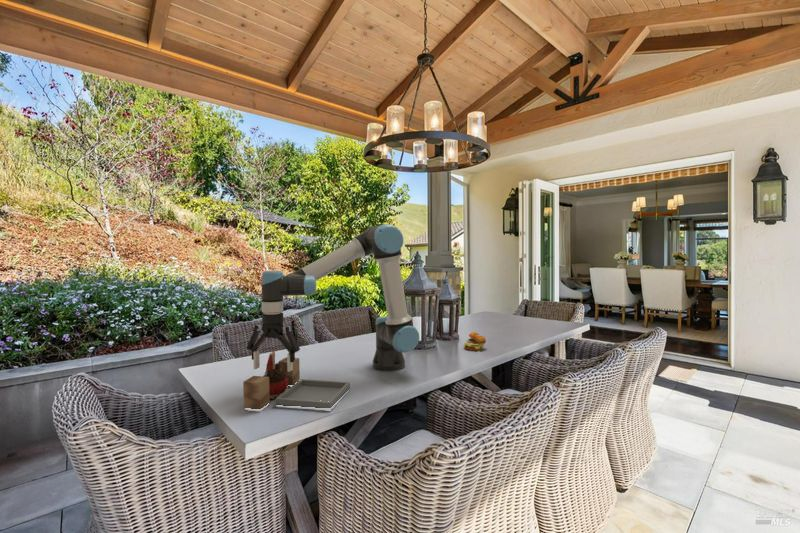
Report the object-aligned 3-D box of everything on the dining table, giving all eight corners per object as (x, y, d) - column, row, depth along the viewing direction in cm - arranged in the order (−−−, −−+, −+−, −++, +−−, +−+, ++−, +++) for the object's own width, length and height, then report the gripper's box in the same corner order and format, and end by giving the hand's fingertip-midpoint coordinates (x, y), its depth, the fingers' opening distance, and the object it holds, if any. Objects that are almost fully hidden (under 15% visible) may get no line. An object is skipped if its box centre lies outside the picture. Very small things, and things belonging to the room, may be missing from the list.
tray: (349, 389, 147) (349, 382, 147) (330, 411, 127) (330, 403, 127) (301, 386, 151) (301, 379, 151) (275, 407, 131) (275, 398, 131)
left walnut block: (269, 405, 133) (269, 376, 133) (260, 412, 127) (259, 382, 127) (254, 403, 134) (253, 375, 134) (244, 410, 128) (243, 381, 128)
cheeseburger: (462, 346, 211) (467, 328, 210) (481, 351, 210) (486, 333, 209) (463, 350, 201) (468, 332, 200) (483, 356, 200) (488, 337, 199)
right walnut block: (299, 382, 156) (299, 358, 155) (292, 387, 150) (292, 362, 149) (286, 381, 157) (285, 357, 156) (278, 386, 151) (278, 361, 151)
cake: (282, 401, 137) (280, 351, 136) (256, 400, 137) (255, 351, 136) (291, 389, 147) (290, 343, 146) (267, 389, 148) (266, 343, 147)
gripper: (308, 312, 142) (308, 368, 143) (248, 309, 147) (248, 364, 148) (299, 315, 134) (299, 374, 135) (236, 313, 139) (236, 370, 140)
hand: (273, 369), depth 142 cm, fingers open, 13 cm apart
